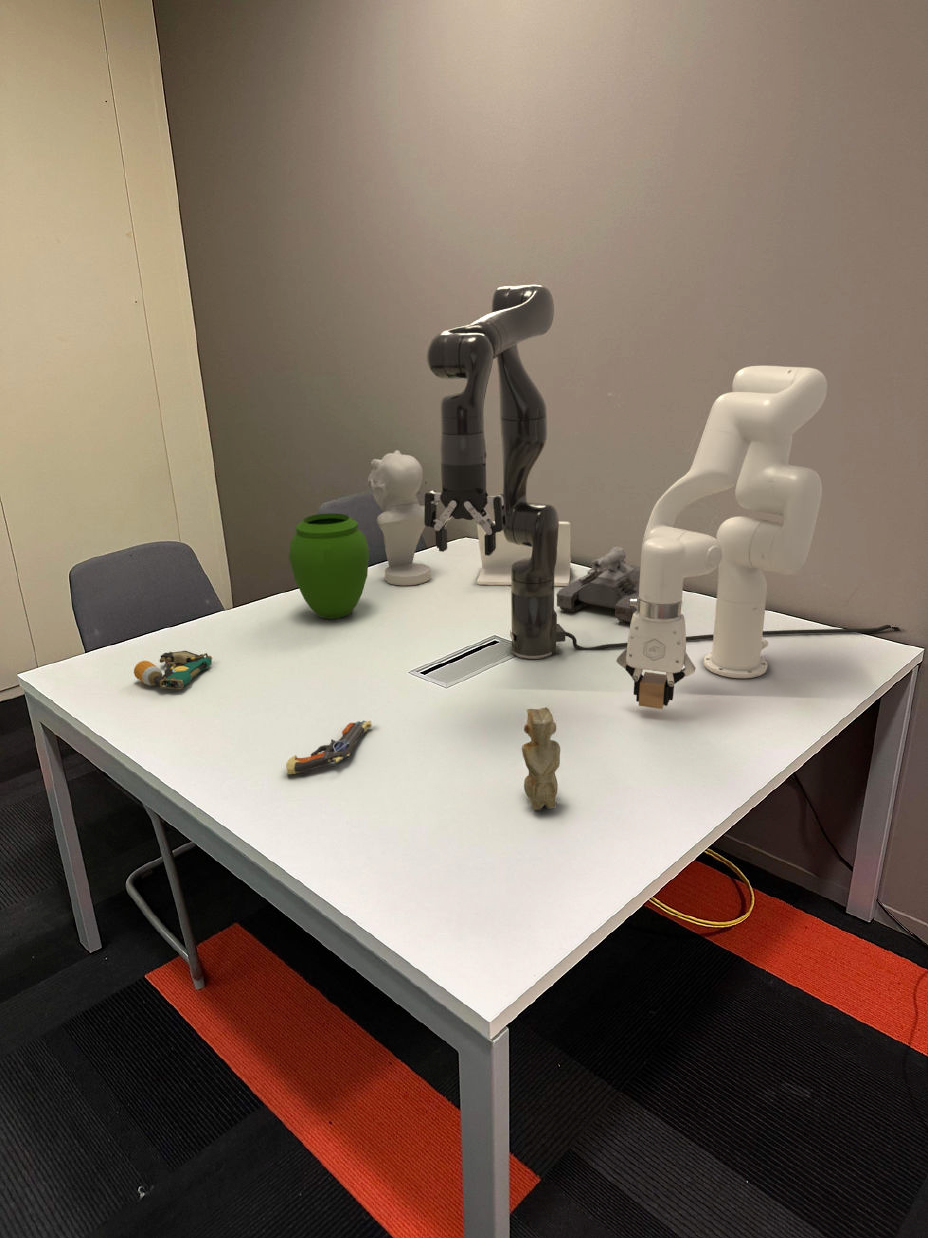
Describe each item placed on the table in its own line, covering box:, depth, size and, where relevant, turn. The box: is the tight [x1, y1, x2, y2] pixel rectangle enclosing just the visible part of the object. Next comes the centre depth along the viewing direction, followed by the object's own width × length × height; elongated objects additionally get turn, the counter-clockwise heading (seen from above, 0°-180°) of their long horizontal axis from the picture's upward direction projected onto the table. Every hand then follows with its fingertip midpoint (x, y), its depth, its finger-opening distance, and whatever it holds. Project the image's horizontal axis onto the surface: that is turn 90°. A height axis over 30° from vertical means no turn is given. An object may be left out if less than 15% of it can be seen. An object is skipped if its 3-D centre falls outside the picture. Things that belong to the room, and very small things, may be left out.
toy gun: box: [285, 720, 373, 775], centre depth 148 cm, size 3×19×10 cm
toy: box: [556, 546, 641, 624], centre depth 212 cm, size 25×20×15 cm
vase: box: [288, 512, 370, 620], centre depth 209 cm, size 20×20×24 cm
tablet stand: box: [476, 520, 572, 587], centre depth 236 cm, size 18×25×17 cm
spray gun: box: [133, 650, 213, 690], centre depth 180 cm, size 4×17×15 cm
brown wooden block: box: [638, 671, 667, 710], centre depth 157 cm, size 5×4×5 cm
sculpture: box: [521, 706, 561, 811], centre depth 129 cm, size 6×7×15 cm
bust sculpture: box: [366, 449, 432, 586], centre depth 237 cm, size 16×24×35 cm
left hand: (465, 552), depth 148 cm, fingers open, 8 cm apart
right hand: (653, 699), depth 158 cm, fingers closed on brown wooden block, 4 cm apart
